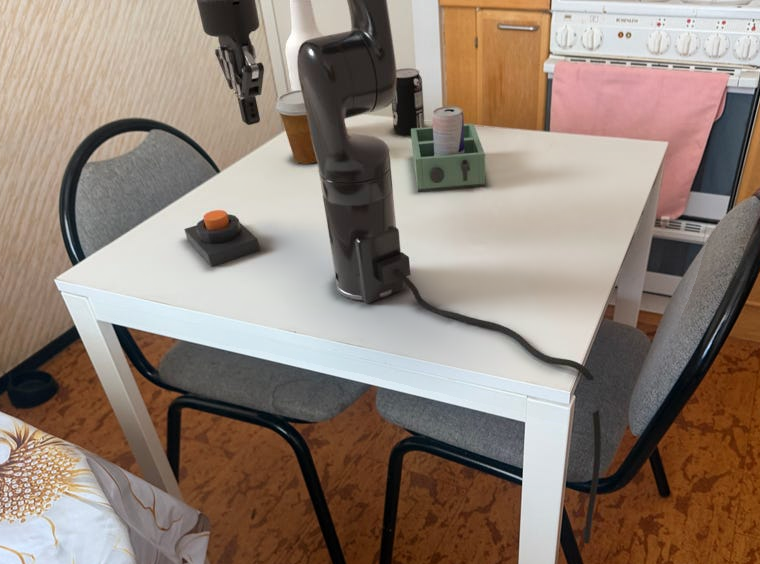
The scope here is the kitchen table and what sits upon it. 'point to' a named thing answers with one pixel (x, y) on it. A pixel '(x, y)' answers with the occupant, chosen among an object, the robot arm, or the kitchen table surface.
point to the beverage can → (408, 102)
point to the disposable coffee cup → (296, 126)
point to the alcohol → (299, 36)
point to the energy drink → (448, 131)
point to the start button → (216, 219)
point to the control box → (222, 241)
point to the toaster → (447, 162)
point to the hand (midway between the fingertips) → (251, 122)
